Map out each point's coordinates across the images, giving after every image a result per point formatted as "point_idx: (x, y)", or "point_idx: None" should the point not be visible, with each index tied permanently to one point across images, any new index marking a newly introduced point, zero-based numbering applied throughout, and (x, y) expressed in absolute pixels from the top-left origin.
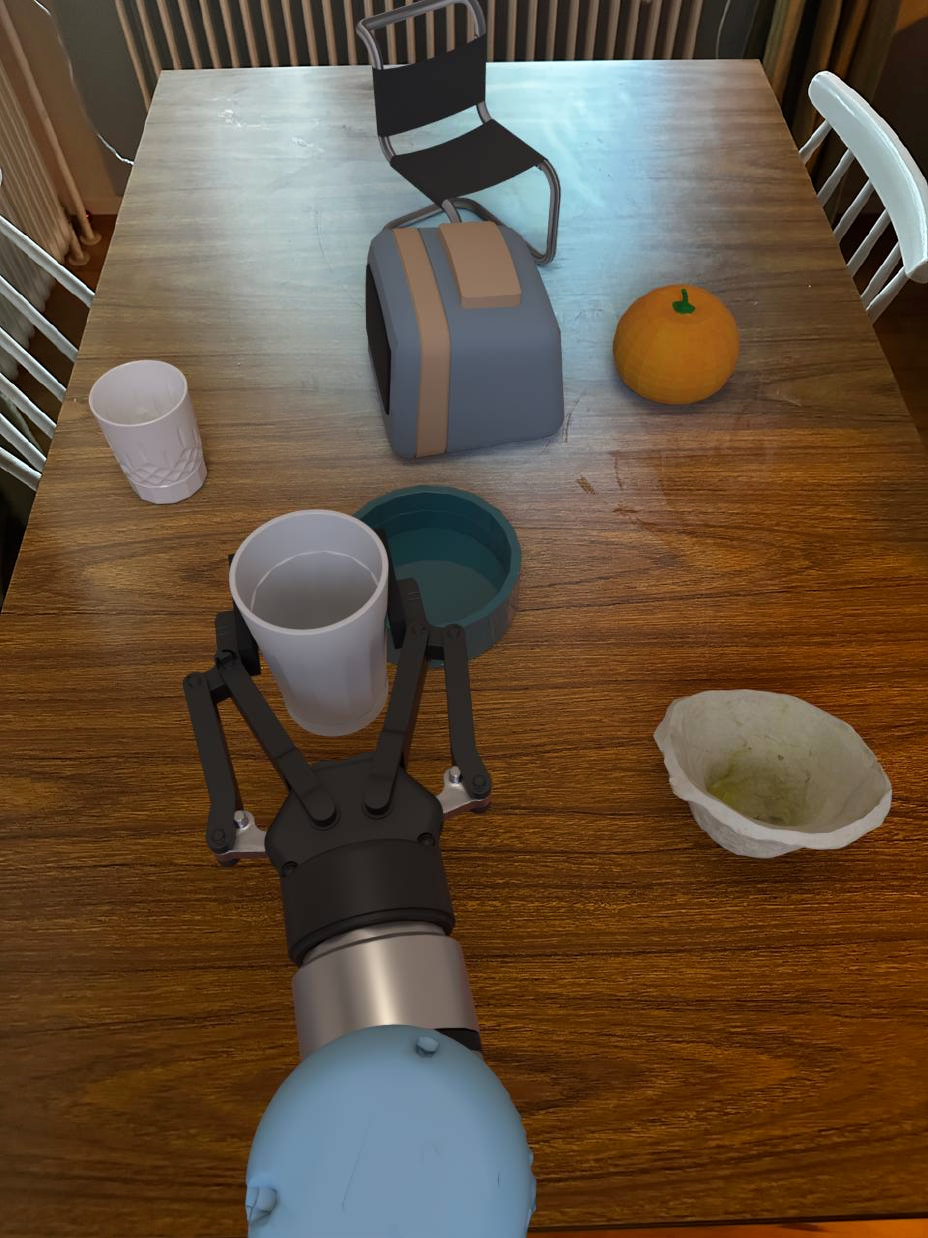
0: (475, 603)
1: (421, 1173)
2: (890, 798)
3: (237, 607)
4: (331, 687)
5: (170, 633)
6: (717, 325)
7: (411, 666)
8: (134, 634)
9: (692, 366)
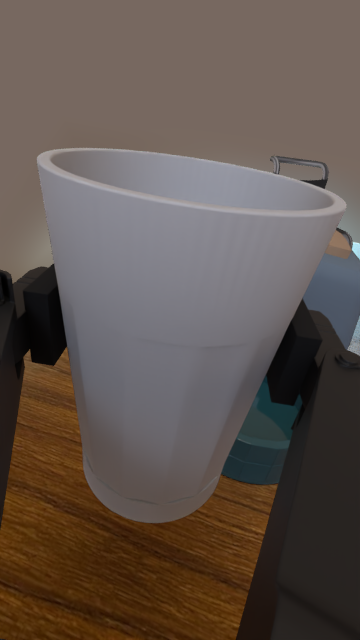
0: (279, 438)
1: None
2: None
3: None
4: (151, 420)
5: (53, 382)
6: None
7: (347, 418)
8: (30, 375)
9: None
